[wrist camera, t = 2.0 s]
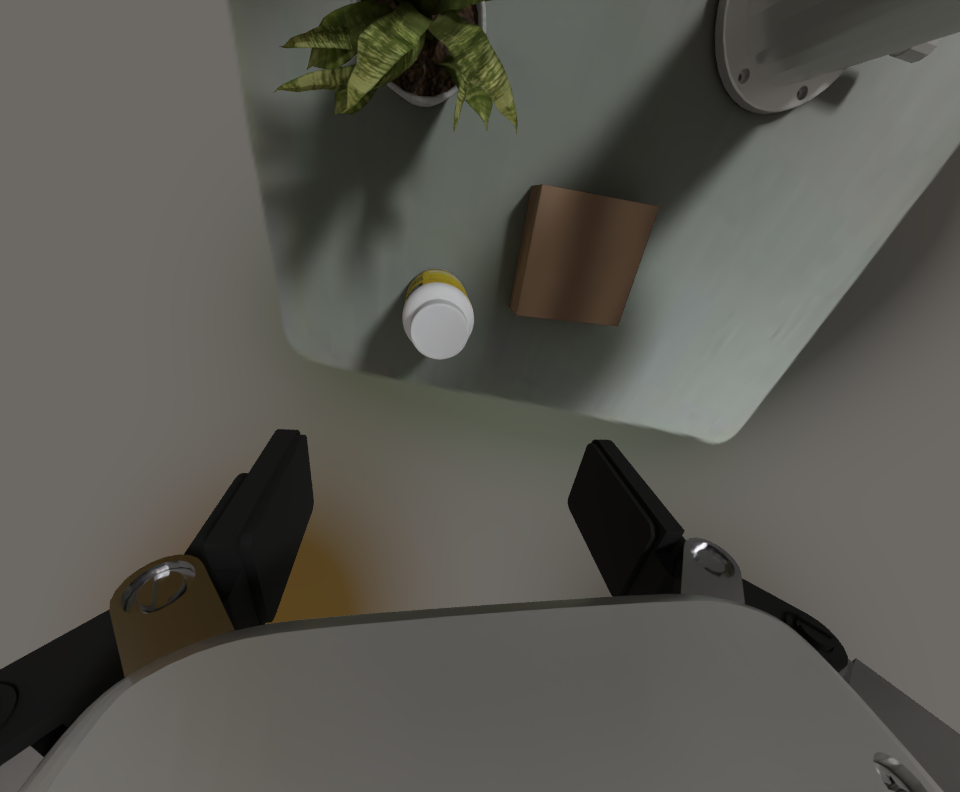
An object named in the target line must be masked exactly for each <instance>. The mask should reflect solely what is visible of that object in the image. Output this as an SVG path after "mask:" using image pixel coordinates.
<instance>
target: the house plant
mask: <svg viewBox="0 0 960 792" xmlns="http://www.w3.org/2000/svg"><path fill="white" fill-rule="evenodd" d="M485 1H490V0H351V4H349V5H346V6H344V7H341V8H339V9H337V10H335V11H332V12H331V13H330V14H328V15H327V16H326V17H324V18H323V19H322V21H321V23H320V25H319V27H316V28H314V29H312V30H310V31H308V32H306V33H304V34H300V35H297V36H294V37H292V38H291V39H290V40H289V41H288V42H287V43H286V44H285V45H284V46H280V47H283V48H310V47H312V50H311V55H310V60H309V64H308V68H307V69H309V68H310V67H312V66H314V67H318V68H323V69H326V70H321V71H316V72H311V73H307V74H305V75H302V76H300V77H298V78H296V79H294V80H291V81H289V82H287V83H285V84H283V85H281V86H280V87H279V88H277V89H276V90H275V91H274V92H276V91H277V90H286V91H294V92H301V91H308V90H318V89H327V90H332V91H336V95H335V112H334V115H336V114H337V113H341V114H353V113H355V112H357V111H359V110H360V109H361V108H363V107H364V106H365V105H366V104H367V103H368V101H369V100H370V99H371V98H372V96H373V94H374V93H375V91H376V90H377V88H379V87H381V86H384V85H387V86H388V87H390V88H391V89H392V90H393V91H395V92H396V93H397V94H399V95H400V96H401V97H402V98H404V99H405V100H407V101H408V102H410V103H411V104H414V105H417V106H420V107H431V106H434V105H437V104H439V103H441V102H443V101H445V100H447V99H449V98H450V97H452V96H453V95H454V94H456V93H457V92H458V96H457V101H456V106H455V115H454V130H455V128H456V125H457V123H458V119H459V115H460V111H461V107H462V104H463V102H464V100H465V101H466V102H467V103H468V104H469V105H470V107H472V108H473V109H474V110H475V111H476V112H477V113H478V115H479V116H480V117H481V119H482V120H483V122H484V123H485V126H486V130H487V127H488V120H489V116H490V113H491V109H492V100H493V102H494V104H495V105H496V107H497V108H498V110H499V111H500V113H501V114H502V115H504V116H505V117H506V118H507V119H508V120H510V121H511V122H512V123H513V124H514V125H515V126H516V134H517V114H516V109H515V105H514V99H513V94H512V89H511V86H510V84H509V81H508V79H507V76H506V73H505V70H504V68H503V65H502V64H501V62H500V60H499V58H498V57H497V55H496V53H495V51H494V50H493V48H492V46H491V45H490V42H489V40H488V38H487V36H486V5H485ZM356 54H357V63H356V64H354V65H351V66H345V67H340V66H342V65H343V64H345V63H346V62H348V61H349V60H351V59H352V58H353V57H354V56H355V55H356ZM337 67H338V68H337Z"/></svg>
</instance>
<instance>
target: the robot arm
mask: <svg viewBox="0 0 960 792" xmlns="http://www.w3.org/2000/svg"><path fill="white" fill-rule="evenodd" d="M958 32H960V0H720V1H719V5H718V10H717V18H716V26H715V54H716V60H717V66H718V72H719V74H720V77H721V80H722V83H723V85H724V87H725V89H726V91H727V92H728V94H729V95H730V97H731V98H732V99H733V100H734V101H735V102H736V103H737V104H738V105H739V106H741V107H742V108H744V109H746V110H748V111H751V112H753V113H760V114H771V113H777V112H782V111H785V110H789V109H792V108H796V107H798V106H800V105H802V104H804V103H806V102H808V101H810V100H812V99H813V98H814V97H816V96H817V95H819V94H820V93H821V92H823V91H824V90H825V89H827V88H828V87H829V86H830V85H831V84H832V83H833V82H834V81H835V80H836V79H837V78H838V77H839V76H840V75H841V74H842V73H843V72H844V71H845V69H846V68H847V67H851V66H854V65H857V64H860V63H863V62H866V61H869V60H873V59H876V58H879V57H882V56H885V55H888V54H889V55H890V56H892V57H895V58H898V59H901V60H904V61H907V62H910V63H913V62H917V61H919V60H921V59H923V58H924V57H926V56H927V55H929V54H930V53H931V52H932V51H933V50H934V49H935V48H936V47H937V45H938V44H939V42H940V41H941V39H942V38H943V37H945V36H948V35H951V34H955V33H958ZM313 503H314V499H313V490H312V481H311V472H310V463H309V454H308V445H307V437H306V435H300V432H299V431H298V430H284V429H278V430H276V431H275V433H274V435H273V436H272V437H271V439H270V441H269V442H268V444H267V445H266V447H265V448H264V450H263V451H262V453H261V455H260V456H259V458H258V459H257V461H256V462H255V464H254V466H253V467H252V469H251V470H250V472H249V473H242V474H239V475H238V476H237V477H236V478H235V480H234V481H233V483H232V484H231V485H230V487H229V488H228V490H227V491H226V493H225V494H224V496H223V497H222V499H221V500H220V502H219V503H218V505H217V506H216V508H215V509H214V511H213V512H212V514H211V515H210V517H209V518H208V520H207V521H206V522H205V524H204V525H203V527H202V528H201V530H200V531H199V533H198V534H197V536H196V538H195V539H194V540H193V542H192V543H191V545H190V546H189V548H188V549H187V551H186V552H185V554H184V555H174V556H168V557H164V558H162V559H159V560H156V561H154V562H151V563H149V564H147V565H146V566H144V567H142V568H140V569H138V570H137V571H136V572H134V573H133V574H132V575H130V576H129V577H128V578H127V579H125V580H124V581H123V583H122V584H121V585H120V586H119V587H118V588H117V590H116V591H115V593H114V594H113V597H112V599H111V600H110V609H109V610H108V611H106V612H104V613H102V614H100V615H98V616H97V617H95V618H93V619H92V620H89V621H88V622H86V623H84V624H82V625H80V626H78V627H77V628H75V629H73V630H71V631H69V632H68V633H66V634H64V635H62V636H60V637H59V638H57V639H55V640H53V641H51V642H50V643H48V644H46V645H44V646H42V647H41V648H39V649H37V650H35V651H33V652H31V653H30V654H28V655H26V656H24V657H22V658H20V659H19V660H17V661H15V662H13V663H11V664H9V665H8V666H6V667H4V668H2V669H0V792H960V734H958V733H957V732H956V731H955V730H953V729H952V728H950V727H949V726H948V725H946V724H945V723H944V722H942V721H941V720H940V719H938V718H937V717H935V716H934V715H933V714H932V713H930V712H929V711H927V710H926V709H925V708H923V707H922V706H921V705H919V704H918V703H916V702H915V701H914V700H912V699H911V698H910V697H908V696H907V695H906V694H904V693H903V692H902V691H900V690H899V689H897V688H896V687H895V686H893V685H892V684H891V683H889V682H888V681H887V680H885V679H884V678H883V677H881V676H880V675H878V674H877V673H876V672H874V671H873V670H872V669H870V668H869V667H867V666H866V665H865V664H863V663H862V662H860V661H859V660H858V659H857V658H855V659H854V660H853V661H850V660H849V659H848V656H847V654H846V652H845V650H844V647H843V646H842V645H841V643H840V642H839V640H838V639H837V638H836V637H835V636H834V635H833V634H832V633H831V632H830V631H829V629H827V628H826V627H825V626H824V625H823V624H821V623H820V622H819V621H818V620H816V619H814V618H813V617H811V616H810V615H808V614H806V613H805V612H803V611H801V610H799V609H797V608H795V607H794V606H792V605H790V604H788V603H786V602H784V601H783V600H781V599H779V598H777V597H775V596H773V595H772V594H770V593H768V592H766V591H764V590H762V589H761V588H759V587H757V586H755V585H753V584H751V583H750V582H748V581H746V580H744V579H742V575H741V571H740V568H739V566H738V564H737V563H736V561H735V560H734V559H733V558H732V557H731V555H730V554H729V553H727V552H726V551H725V550H724V549H722V548H721V547H720V546H718V545H716V544H714V543H712V542H710V541H708V540H705V539H702V538H689V539H688V540H685V539H684V537H683V536H682V534H683V533H684V530H683V528H682V527H681V526H680V525H679V523H678V522H677V521H676V520H675V519H674V517H673V516H672V515H671V513H669V511H668V510H667V509H666V507H665V506H664V505H663V504H662V502H661V501H660V500H659V499H658V497H657V496H656V495H655V494H654V492H653V491H652V490H651V489H650V488H649V486H648V485H647V484H646V483H645V481H644V480H643V479H642V478H641V477H640V475H639V474H638V473H637V471H636V470H635V469H634V468H633V466H631V464H630V463H629V462H628V460H627V459H626V458H625V457H624V455H623V454H622V453H621V452H620V450H619V449H618V448H617V447H616V446H615V444H614V443H613V442H612V441H610V440H593V441H592V443H590V444H588V445H587V447H586V450H585V453H584V456H583V459H582V461H581V464H580V467H579V470H578V472H577V475H576V478H575V481H574V483H573V486H572V489H571V492H570V495H569V498H568V506H569V509H570V512H571V514H572V515H573V518H574V519H575V522H576V524H577V526H578V528H579V530H580V532H581V534H582V536H583V538H584V540H585V542H586V544H587V546H588V548H589V550H590V552H591V555H592V557H593V558H594V560H595V563H596V565H597V567H598V569H599V571H600V573H601V575H602V577H603V579H604V581H605V583H606V585H607V587H608V589H609V591H610V593H611V595H612V596H613V597H600V598H586V599H585V598H584V599H569V600H553V601H539V602H525V603H511V604H510V603H509V604H495V605H481V606H467V607H452V608H439V609H426V610H413V611H399V612H386V613H373V614H360V615H349V616H338V617H327V618H317V619H306V620H295V621H288V622H280V623H273V624H266V625H265V623H267V622H272V621H273V619H274V617H275V615H276V612H277V609H278V606H279V604H280V601H281V598H282V595H283V592H284V590H285V587H286V584H287V581H288V578H289V575H290V572H291V570H292V567H293V564H294V561H295V558H296V556H297V552H298V549H299V547H300V544H301V541H302V539H303V536H304V533H305V530H306V527H307V524H308V521H309V519H310V516H311V513H312V510H313Z"/></svg>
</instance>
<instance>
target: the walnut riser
mask: <svg viewBox="0 0 960 792" xmlns="http://www.w3.org/2000/svg"><path fill="white" fill-rule="evenodd" d="M658 210H659V206H654V205H649V204H643V203H638V202H633V201H628V200H622V199H617V198H612V197H607V196H601V195H596V194H591V193H585V192H580V191H575V190H570V189H564V188H559V187H554V186H549V185H543V184H542V185H535V186H532V187H531V192H530V198H529V203H528V208H527V214H526V219H525V224H524V230H523V235H522V241H521V246H520V251H519V257H518V262H517V267H516V273H515V278H514V283H513V289H512V294H511V299H510V305H509V307H510V308H511V309H512V310H513V312H514V313H515V314H516V315H518V316H527V317H536V318H545V319H555V320H564V321H573V322H582V323H591V324H601V325H610V326H618V325H619V322H620V319H621V316H622V313H623V311H624V308H625V305H626V302H627V299H628V296H629V293H630V290H631V287H632V285H633V282H634V279H635V276H636V273H637V270H638V267H639V264H640V262H641V259H642V256H643V253H644V250H645V247H646V244H647V241H648V238H649V236H650V233H651V230H652V227H653V224H654V221H655V218H656V215H657V212H658Z"/></svg>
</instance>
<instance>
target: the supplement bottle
mask: <svg viewBox="0 0 960 792" xmlns="http://www.w3.org/2000/svg"><path fill="white" fill-rule="evenodd" d="M402 320H403V327H404V330H405V332H406V334H407V336H408V338H409V339H410V340H411V342H412V343H413V344H414V346H415V347H416V349H417V350H418V351H419V352H420V353H422V354H423V355H425V356H427V357H429V358H432V359H439V360H441V359H447V358H451V357H453V356H455V355H456V354H458V353H459V352H460V351H461V350H462V349H463V348H464V346H465V344H466V342H467V340H468V338H469V336H470V335H471V332H472V330H473V325H474V313H473V308H472V305H471V303H470V300H469V298H468V296H467V293H466V291H465V289H464V287H463V285H462V283H461V282H460V280H459V279H458V278H457V277H456V276H455V275H454V274H452V273H451V272H449V271H447V270H444V269H439V268H432V269H427V270H424V271H422V272H420V273H419V274H418V275H416V276H415V277H414V279H413V280H412V281H411V283H410V285H409V287H408V290H407V294H406V299H405V303H404V307H403V315H402Z"/></svg>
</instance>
